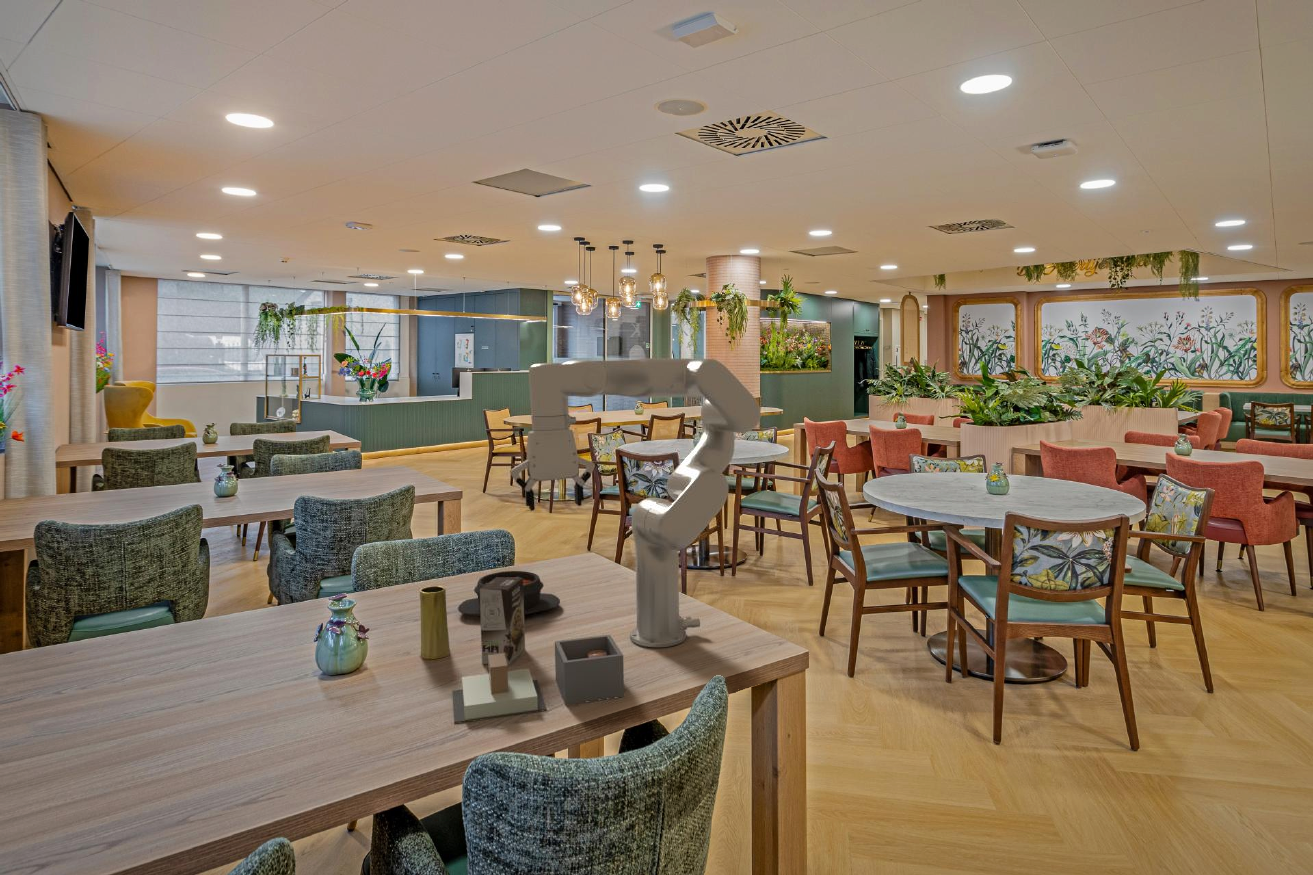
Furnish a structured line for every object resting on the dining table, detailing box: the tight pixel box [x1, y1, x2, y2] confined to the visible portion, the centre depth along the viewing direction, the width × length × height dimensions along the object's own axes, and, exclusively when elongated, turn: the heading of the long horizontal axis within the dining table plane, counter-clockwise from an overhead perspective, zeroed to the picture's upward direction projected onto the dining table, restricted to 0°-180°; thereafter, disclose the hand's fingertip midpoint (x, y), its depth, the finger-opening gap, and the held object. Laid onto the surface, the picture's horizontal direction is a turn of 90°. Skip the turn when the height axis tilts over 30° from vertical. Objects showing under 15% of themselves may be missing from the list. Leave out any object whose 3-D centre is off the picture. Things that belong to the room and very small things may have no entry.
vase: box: [419, 585, 451, 660], centre depth 162 cm, size 6×6×14 cm
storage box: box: [554, 634, 625, 706], centre depth 144 cm, size 11×11×8 cm
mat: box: [452, 679, 547, 724], centre depth 140 cm, size 16×13×1 cm
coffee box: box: [480, 577, 526, 667], centre depth 160 cm, size 9×6×16 cm
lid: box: [461, 653, 538, 720], centre depth 139 cm, size 13×13×8 cm
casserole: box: [457, 570, 561, 617], centre depth 189 cm, size 25×19×8 cm
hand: (555, 506), depth 156 cm, fingers open, 9 cm apart
